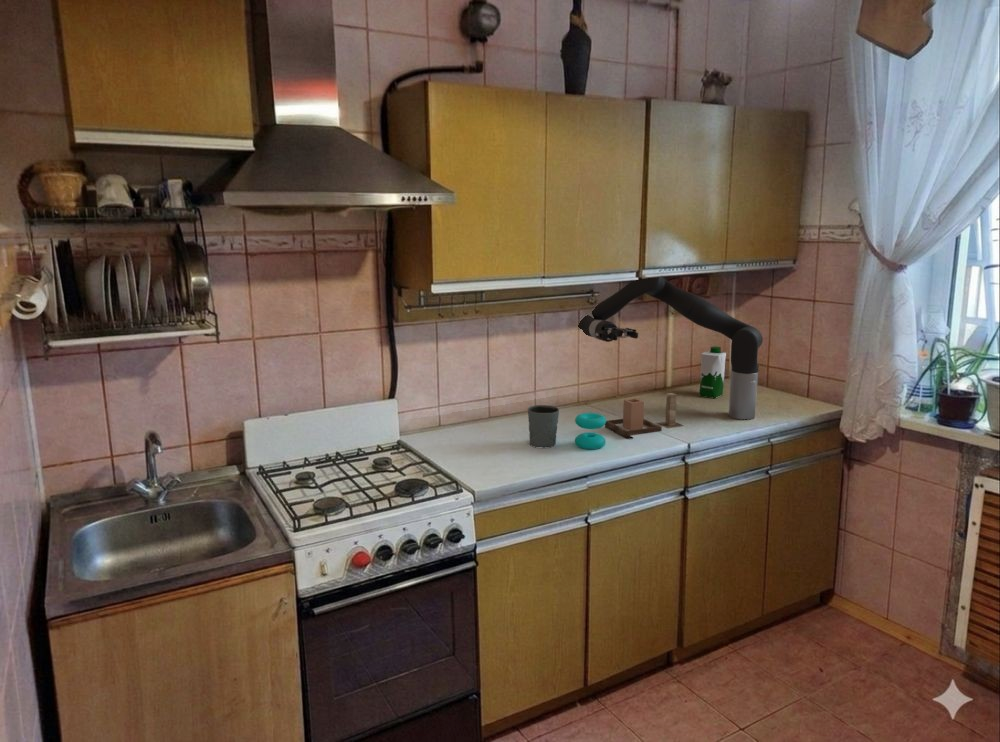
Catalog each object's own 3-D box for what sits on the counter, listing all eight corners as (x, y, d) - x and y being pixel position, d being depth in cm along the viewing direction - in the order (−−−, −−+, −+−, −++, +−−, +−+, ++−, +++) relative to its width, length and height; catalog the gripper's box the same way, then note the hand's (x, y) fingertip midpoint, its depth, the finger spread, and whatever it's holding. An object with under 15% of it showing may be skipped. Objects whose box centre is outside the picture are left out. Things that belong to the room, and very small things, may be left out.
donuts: (611, 418, 222) (583, 422, 219) (611, 448, 225) (583, 452, 221) (596, 410, 231) (569, 413, 228) (596, 439, 234) (569, 442, 230)
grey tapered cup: (522, 442, 231) (521, 407, 228) (546, 437, 236) (546, 403, 233) (539, 450, 222) (539, 414, 220) (564, 445, 228) (565, 409, 225)
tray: (604, 427, 246) (605, 420, 246) (638, 422, 251) (638, 416, 251) (626, 438, 233) (626, 432, 233) (661, 433, 239) (661, 427, 238)
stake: (655, 425, 248) (657, 392, 245) (672, 423, 250) (673, 390, 248) (667, 431, 242) (669, 397, 239) (684, 428, 244) (686, 395, 242)
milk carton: (725, 395, 288) (728, 347, 284) (716, 399, 281) (719, 351, 277) (705, 391, 294) (708, 345, 289) (696, 396, 287) (698, 348, 282)
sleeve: (622, 427, 244) (623, 399, 241) (634, 425, 245) (635, 398, 243) (630, 431, 239) (631, 403, 237) (642, 429, 241) (644, 401, 239)
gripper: (586, 321, 258) (609, 327, 244) (619, 319, 264) (644, 324, 249) (586, 341, 260) (609, 348, 245) (619, 338, 265) (643, 345, 251)
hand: (626, 336), depth 247 cm, fingers open, 8 cm apart
